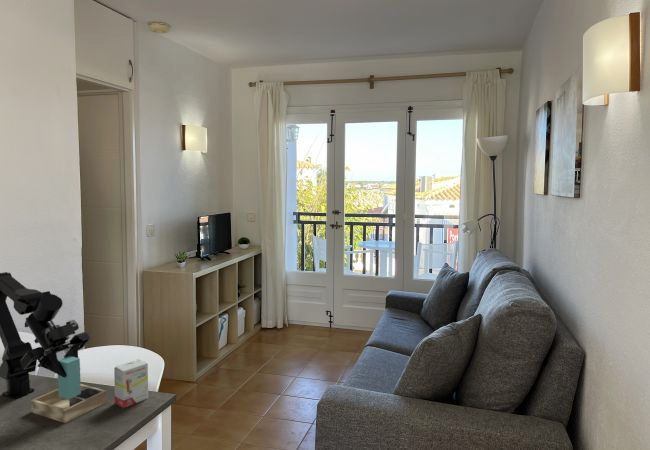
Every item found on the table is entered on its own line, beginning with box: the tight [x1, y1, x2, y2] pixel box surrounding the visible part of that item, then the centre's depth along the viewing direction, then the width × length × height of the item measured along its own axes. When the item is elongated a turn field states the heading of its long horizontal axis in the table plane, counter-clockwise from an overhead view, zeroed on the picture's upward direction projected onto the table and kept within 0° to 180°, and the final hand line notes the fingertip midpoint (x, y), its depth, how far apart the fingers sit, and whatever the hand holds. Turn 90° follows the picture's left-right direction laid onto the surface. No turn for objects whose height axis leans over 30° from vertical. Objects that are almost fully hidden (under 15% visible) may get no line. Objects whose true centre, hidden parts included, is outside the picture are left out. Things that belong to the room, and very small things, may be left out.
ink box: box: [113, 359, 149, 409], centre depth 149 cm, size 9×5×12 cm, turn 143°
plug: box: [57, 356, 82, 399], centre depth 140 cm, size 4×4×10 cm
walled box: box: [30, 383, 108, 424], centre depth 145 cm, size 14×14×4 cm
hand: (72, 373), depth 139 cm, fingers closed on plug, 4 cm apart
